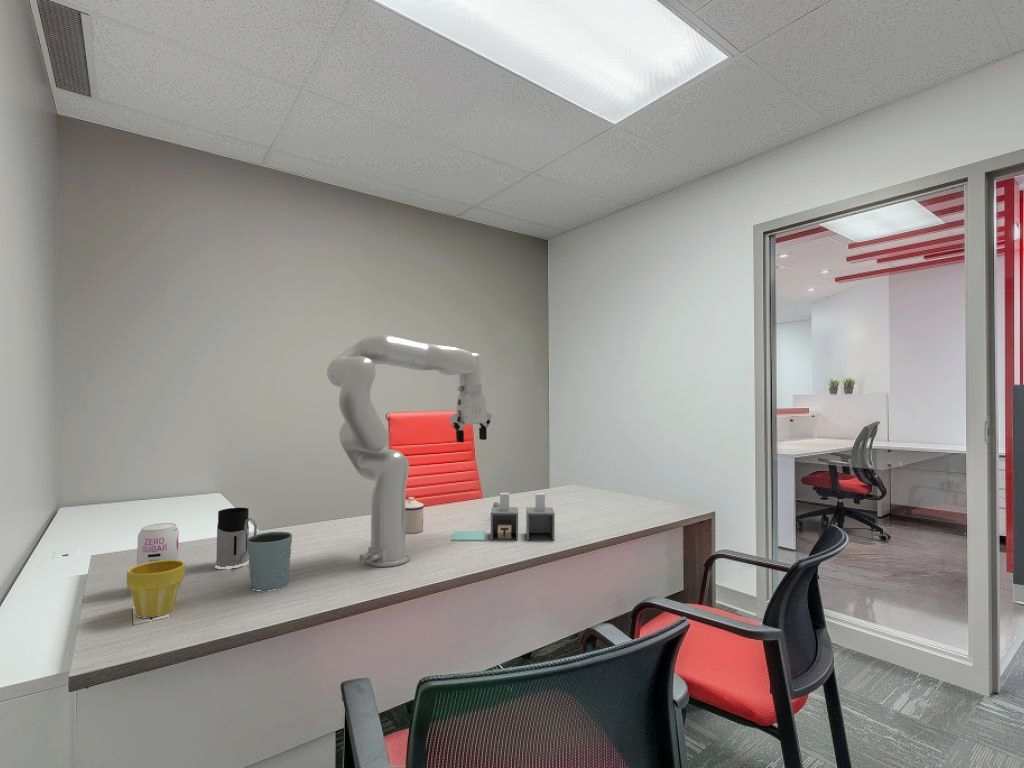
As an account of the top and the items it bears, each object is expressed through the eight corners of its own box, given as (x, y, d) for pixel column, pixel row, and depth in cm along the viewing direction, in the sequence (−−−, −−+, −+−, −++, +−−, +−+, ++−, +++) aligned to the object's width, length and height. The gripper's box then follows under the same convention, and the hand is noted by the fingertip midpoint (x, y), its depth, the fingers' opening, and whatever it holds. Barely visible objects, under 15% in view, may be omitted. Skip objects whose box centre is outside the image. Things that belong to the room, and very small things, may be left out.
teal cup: (297, 585, 127) (298, 537, 128) (253, 596, 121) (254, 544, 121) (282, 575, 135) (283, 529, 135) (240, 584, 128) (241, 536, 128)
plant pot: (175, 598, 119) (176, 556, 119) (190, 611, 112) (191, 565, 112) (120, 612, 111) (121, 566, 111) (132, 626, 104) (134, 578, 105)
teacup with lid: (428, 531, 180) (428, 498, 180) (404, 535, 174) (405, 501, 175) (412, 524, 189) (412, 493, 190) (389, 528, 184) (389, 495, 184)
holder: (237, 557, 149) (238, 505, 150) (269, 565, 143) (270, 511, 143) (207, 566, 142) (208, 511, 142) (239, 575, 135) (240, 517, 135)
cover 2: (554, 540, 169) (554, 496, 170) (527, 540, 169) (527, 496, 169) (552, 533, 178) (552, 491, 178) (526, 533, 178) (526, 491, 178)
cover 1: (518, 540, 169) (518, 496, 169) (490, 540, 169) (490, 496, 169) (517, 533, 178) (517, 491, 178) (491, 533, 178) (491, 491, 178)
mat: (484, 541, 168) (484, 539, 168) (450, 541, 168) (450, 539, 168) (486, 532, 179) (486, 530, 179) (454, 532, 179) (454, 530, 179)
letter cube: (511, 539, 171) (511, 525, 171) (497, 538, 171) (497, 525, 171) (511, 535, 176) (511, 522, 176) (497, 535, 176) (498, 522, 176)
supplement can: (170, 580, 131) (171, 520, 131) (182, 587, 126) (183, 526, 126) (131, 589, 125) (133, 526, 125) (142, 597, 119) (144, 532, 120)
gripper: (456, 390, 164) (457, 444, 164) (497, 389, 176) (498, 439, 176) (443, 390, 170) (444, 442, 170) (483, 389, 181) (484, 437, 181)
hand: (471, 440), depth 173 cm, fingers open, 9 cm apart
